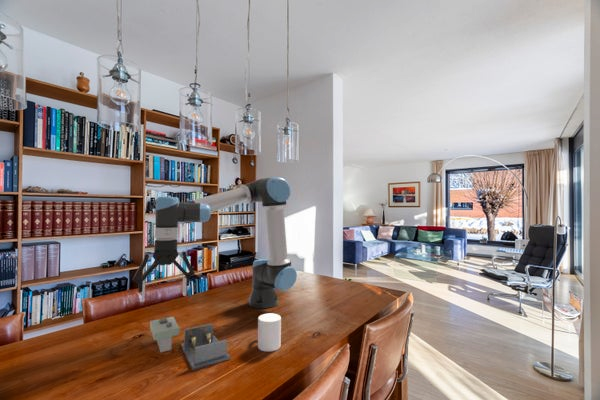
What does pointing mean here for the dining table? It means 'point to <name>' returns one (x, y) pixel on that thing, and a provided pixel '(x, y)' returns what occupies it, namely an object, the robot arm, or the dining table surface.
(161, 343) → the stand
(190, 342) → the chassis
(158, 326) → the board
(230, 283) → the dining table surface
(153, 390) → the dining table surface
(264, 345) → the mug
